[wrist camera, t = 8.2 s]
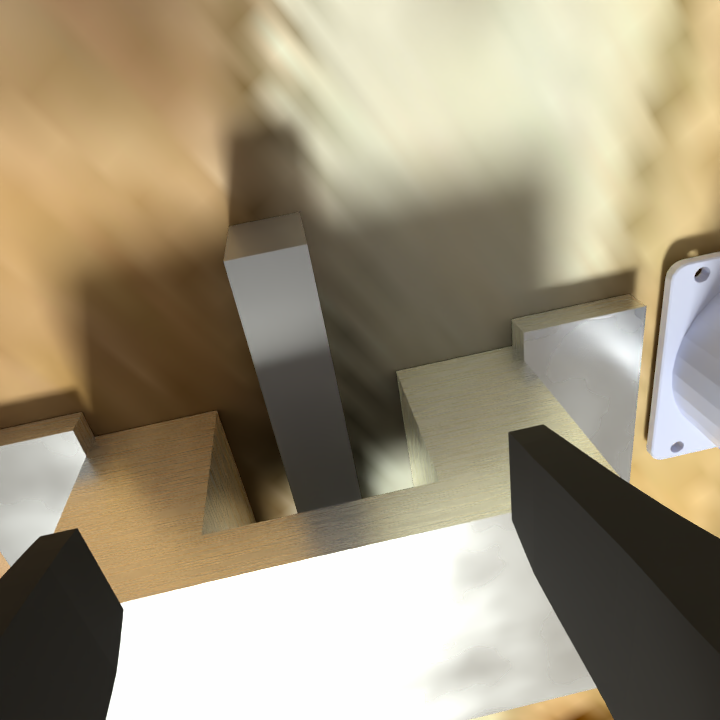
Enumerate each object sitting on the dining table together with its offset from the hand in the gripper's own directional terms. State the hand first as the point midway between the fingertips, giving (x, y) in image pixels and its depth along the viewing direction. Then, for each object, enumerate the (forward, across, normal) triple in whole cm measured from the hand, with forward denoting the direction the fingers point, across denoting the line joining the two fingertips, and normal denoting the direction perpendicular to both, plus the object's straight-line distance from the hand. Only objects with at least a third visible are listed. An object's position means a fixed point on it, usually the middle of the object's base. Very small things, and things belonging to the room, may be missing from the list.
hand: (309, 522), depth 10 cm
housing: (+9, 0, +7) cm, 11 cm away
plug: (+9, 0, +14) cm, 17 cm away
